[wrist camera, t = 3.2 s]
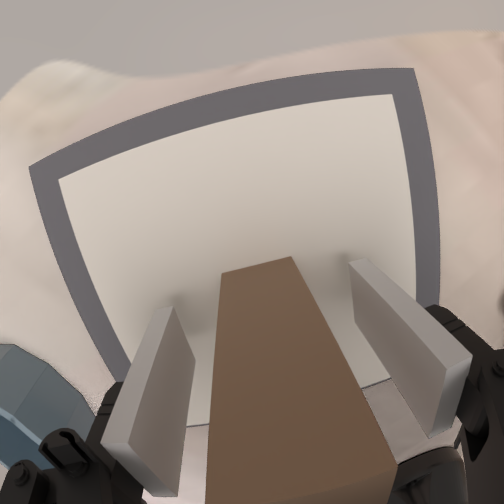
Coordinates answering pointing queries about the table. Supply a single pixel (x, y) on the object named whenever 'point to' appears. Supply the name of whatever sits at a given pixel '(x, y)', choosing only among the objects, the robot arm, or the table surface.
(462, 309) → the table surface
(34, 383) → the slate bowl
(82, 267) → the rubber mat
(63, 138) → the table surface
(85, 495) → the robot arm
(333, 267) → the cream lid
